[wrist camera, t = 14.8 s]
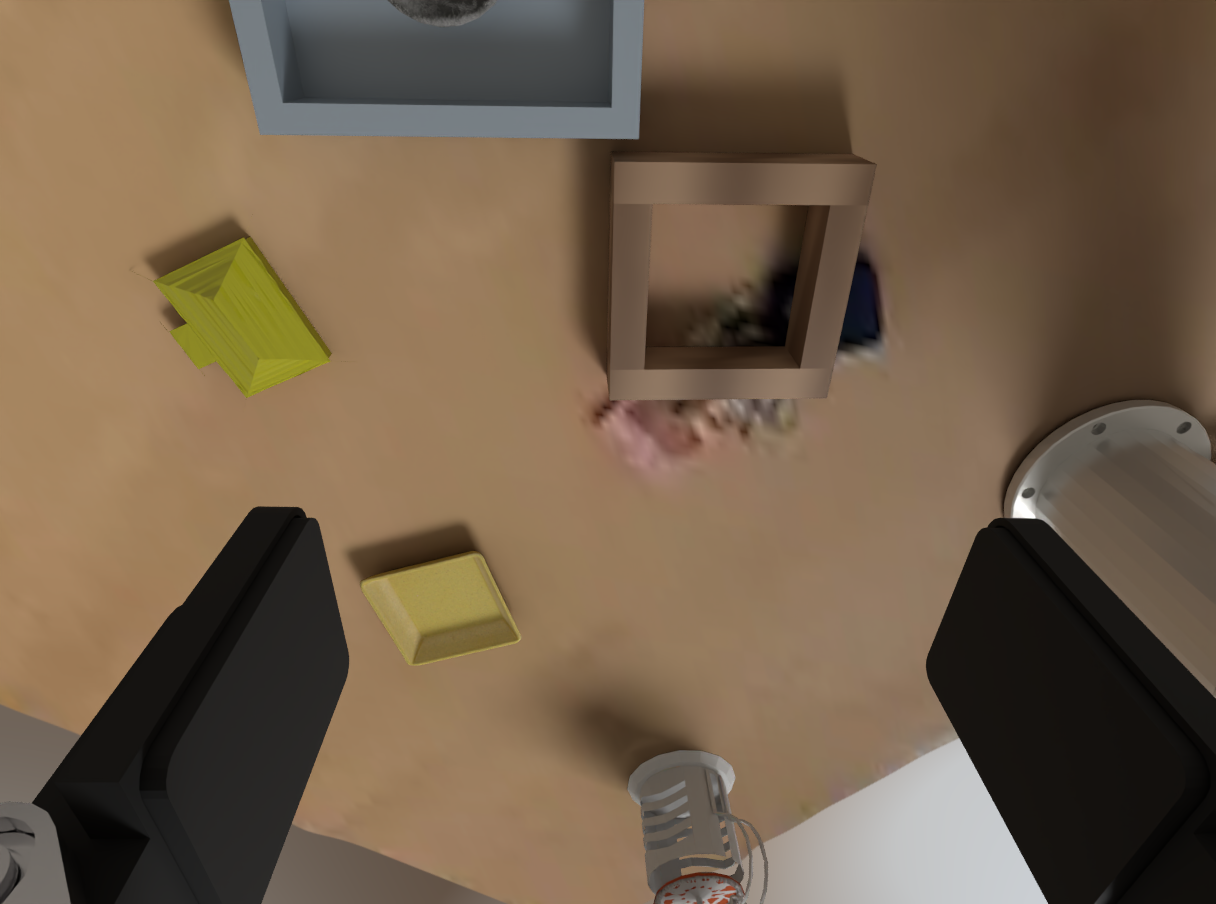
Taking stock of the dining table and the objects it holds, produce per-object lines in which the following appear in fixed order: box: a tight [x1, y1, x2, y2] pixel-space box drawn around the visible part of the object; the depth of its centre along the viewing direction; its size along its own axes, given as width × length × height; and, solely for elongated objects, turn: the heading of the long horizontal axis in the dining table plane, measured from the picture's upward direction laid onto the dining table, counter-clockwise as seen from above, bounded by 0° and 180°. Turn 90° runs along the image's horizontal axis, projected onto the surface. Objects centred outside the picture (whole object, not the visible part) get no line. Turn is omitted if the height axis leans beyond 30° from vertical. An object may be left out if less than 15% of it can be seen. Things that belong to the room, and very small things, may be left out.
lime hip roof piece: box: [134, 214, 346, 398], centre depth 36 cm, size 10×9×3 cm
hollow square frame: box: [607, 152, 877, 400], centre depth 35 cm, size 12×12×3 cm
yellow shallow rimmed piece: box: [360, 551, 521, 666], centre depth 47 cm, size 9×9×2 cm
